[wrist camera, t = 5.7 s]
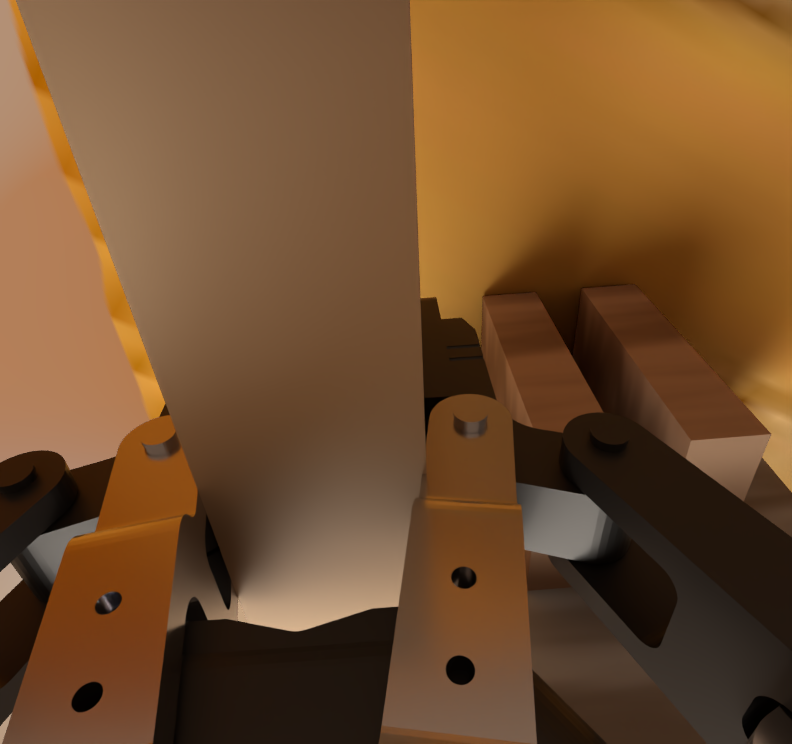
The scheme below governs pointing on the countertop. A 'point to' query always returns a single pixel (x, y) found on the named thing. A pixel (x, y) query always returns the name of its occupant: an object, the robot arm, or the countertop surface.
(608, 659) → the slotted block base plate
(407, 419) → the rail
